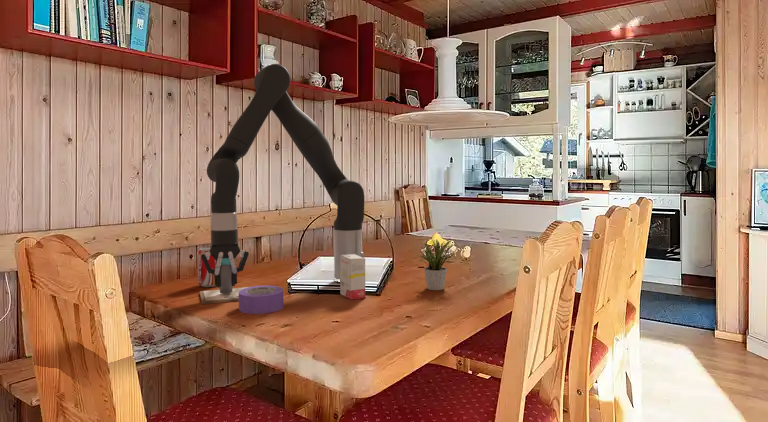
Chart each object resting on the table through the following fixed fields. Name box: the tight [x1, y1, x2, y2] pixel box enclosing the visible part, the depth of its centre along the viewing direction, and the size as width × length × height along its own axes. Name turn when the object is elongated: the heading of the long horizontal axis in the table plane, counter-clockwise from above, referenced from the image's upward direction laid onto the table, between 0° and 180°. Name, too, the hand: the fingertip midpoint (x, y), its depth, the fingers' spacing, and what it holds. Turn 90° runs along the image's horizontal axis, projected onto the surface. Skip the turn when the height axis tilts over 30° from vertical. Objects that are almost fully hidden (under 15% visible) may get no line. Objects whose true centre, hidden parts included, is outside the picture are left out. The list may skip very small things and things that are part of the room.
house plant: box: [417, 237, 459, 291], centre depth 165 cm, size 14×14×16 cm
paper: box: [199, 286, 249, 305], centre depth 157 cm, size 19×14×1 cm
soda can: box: [196, 246, 217, 288], centre depth 171 cm, size 7×7×12 cm
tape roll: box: [238, 285, 285, 315], centre depth 143 cm, size 12×12×5 cm
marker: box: [219, 258, 233, 294], centre depth 155 cm, size 4×4×10 cm
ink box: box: [339, 254, 366, 301], centre depth 156 cm, size 9×5×12 cm, turn 25°
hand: (225, 286), depth 156 cm, fingers closed on marker, 3 cm apart
